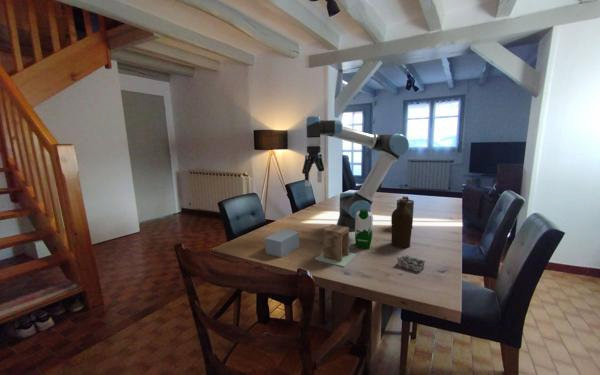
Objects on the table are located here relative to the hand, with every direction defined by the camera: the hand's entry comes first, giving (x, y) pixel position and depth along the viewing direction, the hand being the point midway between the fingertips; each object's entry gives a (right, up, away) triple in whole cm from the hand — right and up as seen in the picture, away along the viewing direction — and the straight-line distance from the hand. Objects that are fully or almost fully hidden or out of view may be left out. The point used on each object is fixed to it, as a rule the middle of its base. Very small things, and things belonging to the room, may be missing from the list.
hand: (313, 184), depth 150 cm
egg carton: (+42, -37, -30) cm, 64 cm away
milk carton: (+26, -33, -6) cm, 43 cm away
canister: (+59, -27, +22) cm, 69 cm away
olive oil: (+46, -33, -6) cm, 57 cm away
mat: (+10, -36, -20) cm, 42 cm away
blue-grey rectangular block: (-17, -34, -10) cm, 39 cm away
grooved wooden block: (+5, -33, -17) cm, 38 cm away
